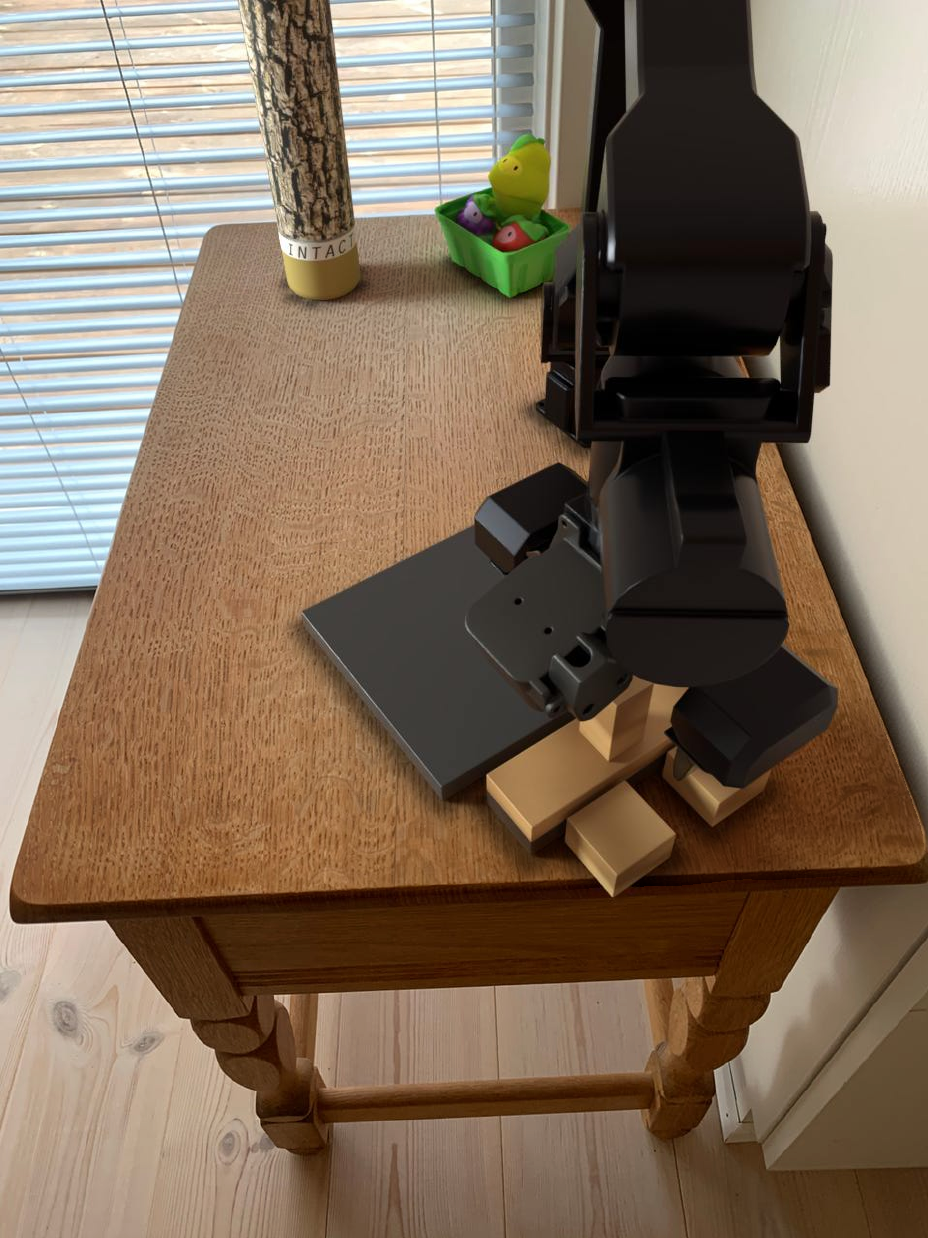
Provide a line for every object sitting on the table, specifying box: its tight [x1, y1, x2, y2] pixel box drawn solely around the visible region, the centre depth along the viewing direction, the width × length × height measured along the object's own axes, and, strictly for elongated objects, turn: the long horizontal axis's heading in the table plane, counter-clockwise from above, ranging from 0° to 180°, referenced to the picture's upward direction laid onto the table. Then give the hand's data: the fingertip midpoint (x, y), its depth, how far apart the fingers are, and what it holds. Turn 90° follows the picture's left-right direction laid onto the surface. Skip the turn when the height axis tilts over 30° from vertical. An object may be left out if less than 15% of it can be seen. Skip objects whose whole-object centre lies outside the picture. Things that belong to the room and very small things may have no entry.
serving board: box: [300, 524, 577, 802], centre depth 62 cm, size 18×16×2 cm
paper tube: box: [237, 0, 361, 301], centre depth 82 cm, size 7×7×25 cm
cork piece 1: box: [564, 781, 677, 898], centre depth 52 cm, size 4×4×2 cm
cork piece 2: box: [661, 746, 773, 828], centre depth 54 cm, size 4×4×2 cm
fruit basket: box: [434, 133, 571, 298], centre depth 88 cm, size 11×9×11 cm
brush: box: [486, 675, 689, 857], centre depth 53 cm, size 14×4×8 cm, turn 125°
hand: (621, 714), depth 52 cm, fingers open, 9 cm apart
